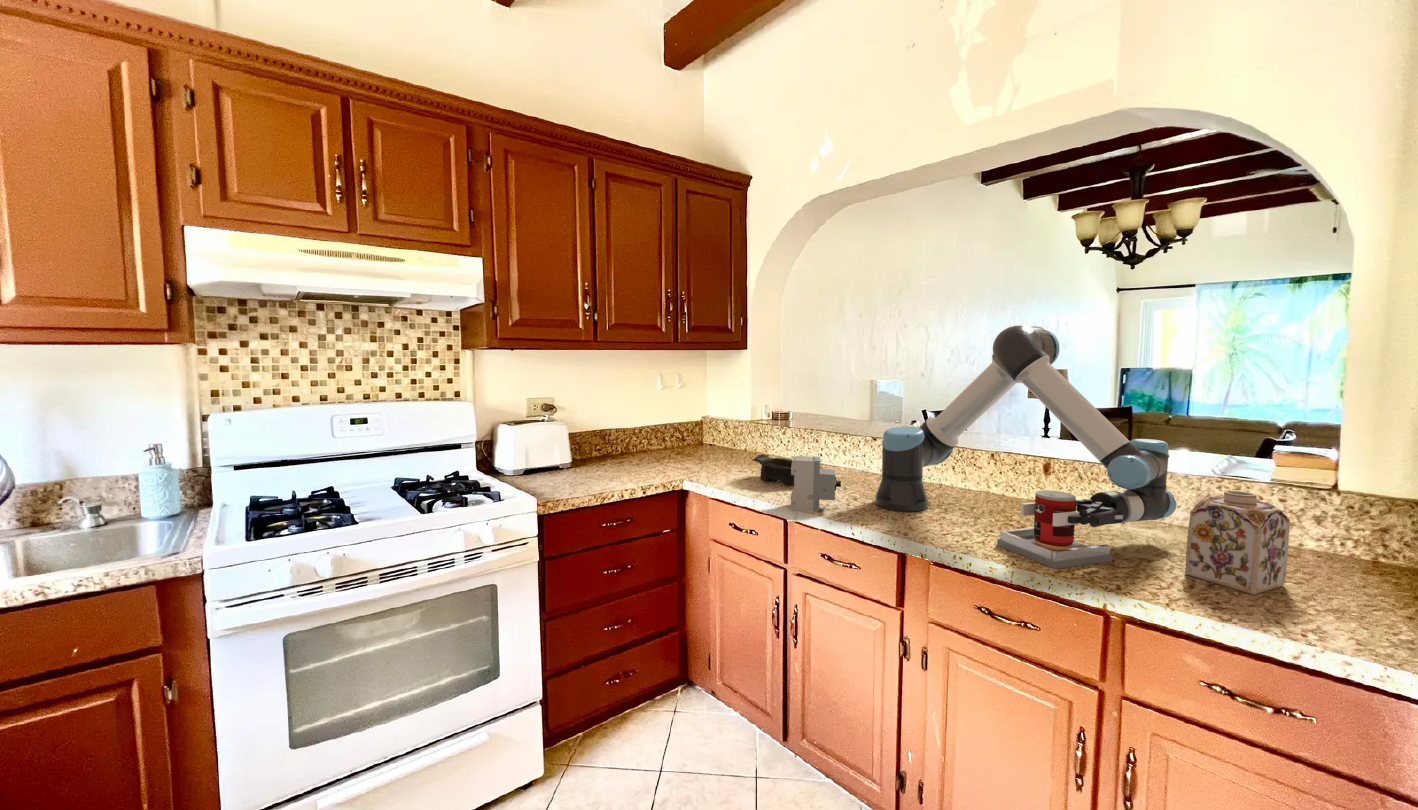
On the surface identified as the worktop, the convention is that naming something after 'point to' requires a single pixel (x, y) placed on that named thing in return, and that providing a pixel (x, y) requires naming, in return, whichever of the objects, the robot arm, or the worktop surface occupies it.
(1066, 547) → the button
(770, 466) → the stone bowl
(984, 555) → the worktop surface
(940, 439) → the robot arm
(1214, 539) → the decorative jar
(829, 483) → the circuit breaker
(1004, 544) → the switch base
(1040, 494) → the canned food
